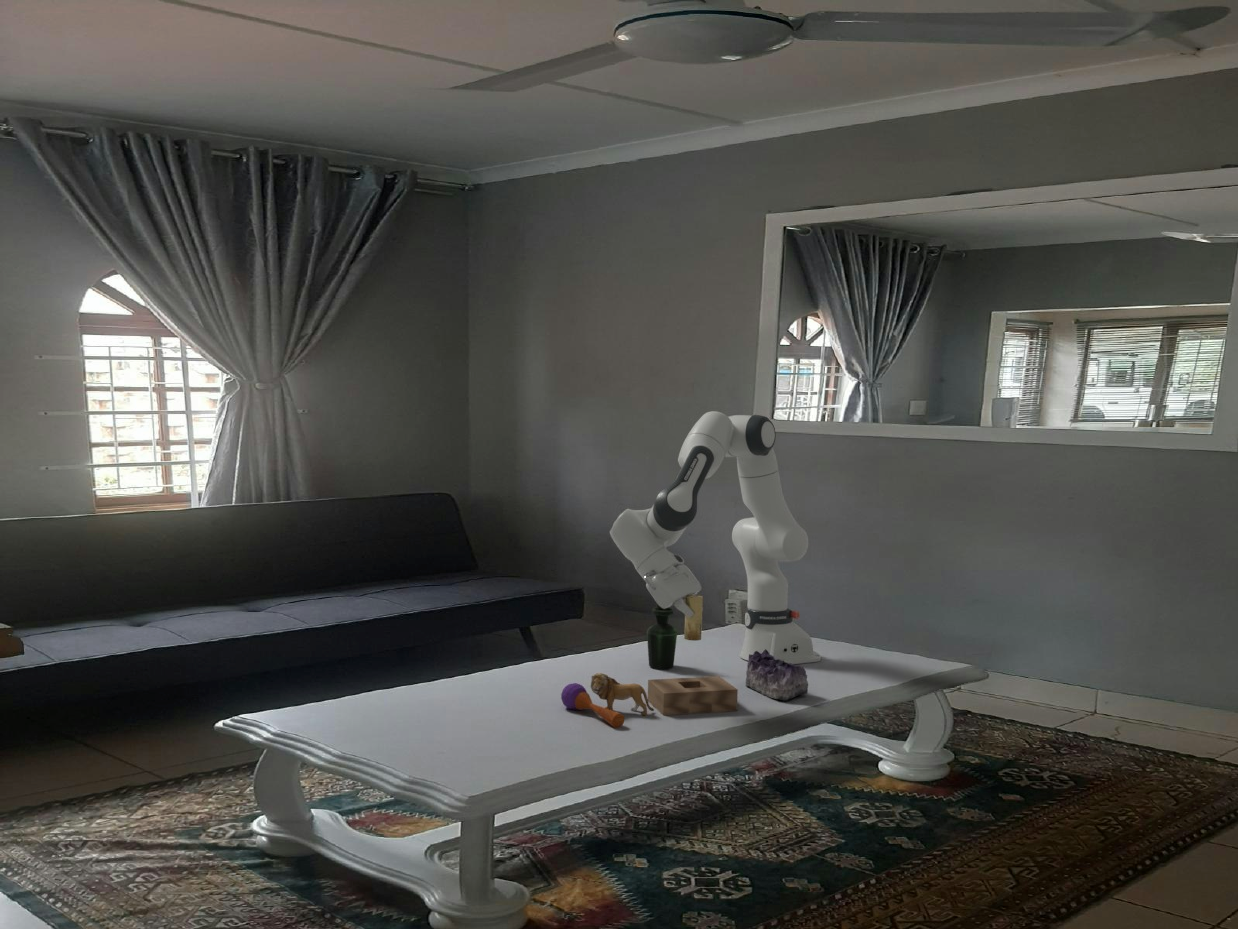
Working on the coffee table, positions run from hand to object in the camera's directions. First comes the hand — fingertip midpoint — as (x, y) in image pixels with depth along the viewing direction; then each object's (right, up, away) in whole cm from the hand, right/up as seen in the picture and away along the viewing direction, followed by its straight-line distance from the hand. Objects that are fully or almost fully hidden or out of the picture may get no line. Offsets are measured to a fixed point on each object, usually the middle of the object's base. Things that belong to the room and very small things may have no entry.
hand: (696, 614), depth 251 cm
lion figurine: (-18, -22, -5) cm, 29 cm away
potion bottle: (-7, -20, +37) cm, 43 cm away
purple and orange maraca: (-24, -22, -8) cm, 34 cm away
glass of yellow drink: (-1, -6, +1) cm, 6 cm away
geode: (+20, -22, +16) cm, 33 cm away
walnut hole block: (-1, -22, +2) cm, 22 cm away
